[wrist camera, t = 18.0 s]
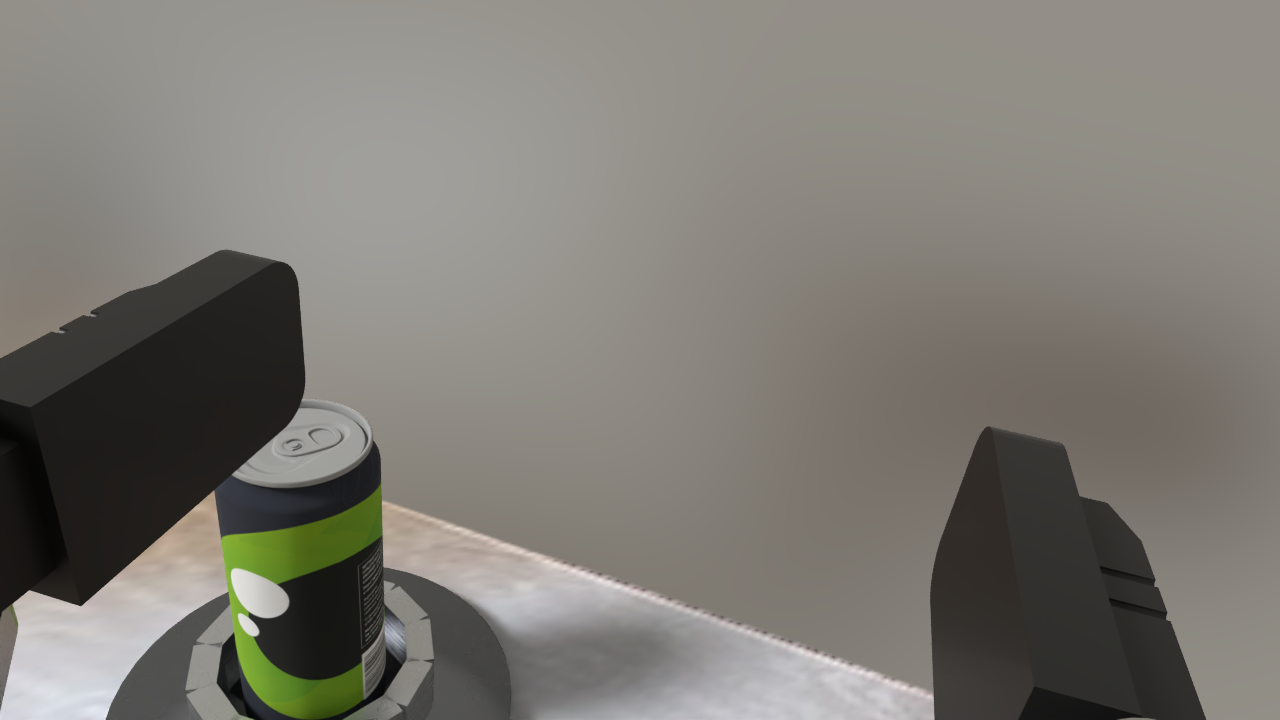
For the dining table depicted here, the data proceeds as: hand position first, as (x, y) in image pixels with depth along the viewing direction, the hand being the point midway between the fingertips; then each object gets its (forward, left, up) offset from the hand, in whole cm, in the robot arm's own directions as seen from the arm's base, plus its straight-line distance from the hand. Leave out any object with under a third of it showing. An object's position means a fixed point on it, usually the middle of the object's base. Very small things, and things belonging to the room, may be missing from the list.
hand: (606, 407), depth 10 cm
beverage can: (+16, -17, -31) cm, 39 cm away
